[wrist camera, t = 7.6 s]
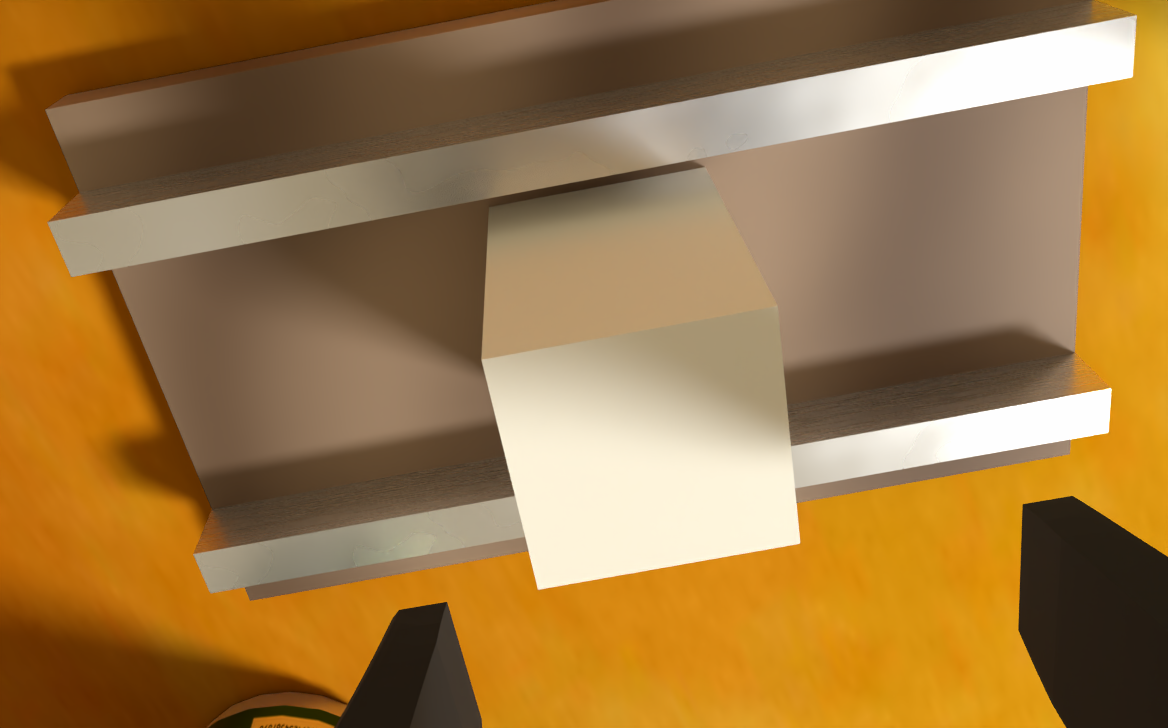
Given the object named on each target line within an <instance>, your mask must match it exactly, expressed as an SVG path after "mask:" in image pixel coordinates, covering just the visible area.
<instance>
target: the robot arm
mask: <svg viewBox="0 0 1168 728" xmlns="http://www.w3.org/2000/svg"><path fill="white" fill-rule="evenodd" d="M1019 632H1020V635H1021V637H1022V639H1023V641H1024V644H1025V646H1026V648H1027V650H1028V653H1029V655H1030V657H1031V660H1032V662H1033V664H1034V666H1035V669H1036V671H1037V673H1038V675H1039V677H1040V679H1041V681H1042V684H1043V686H1044V688H1045V690H1046V692H1047V694H1048V696H1049V698H1050V700H1051V703H1052V704H1053V706H1054V708H1055V709H1056V711H1057V713H1058V714H1059V716H1060V718H1061V719H1062V721H1063V723H1064V724H1065V726H1066V728H1168V557H1167V556H1166V555H1164V554H1162V553H1161V552H1159V551H1158V550H1156V549H1155V548H1153V547H1152V546H1150V545H1148V544H1147V543H1145V542H1144V541H1142V540H1141V539H1139V538H1138V537H1136V536H1134V535H1133V534H1131V533H1130V532H1128V531H1127V530H1125V529H1124V528H1122V527H1121V526H1119V525H1118V524H1116V523H1114V522H1113V521H1111V520H1110V519H1108V518H1107V517H1105V516H1104V515H1102V514H1101V513H1099V512H1097V511H1096V510H1094V509H1093V508H1091V507H1090V506H1088V505H1086V504H1085V503H1083V502H1082V501H1080V500H1078V499H1077V498H1075V497H1073V496H1070V497H1064V498H1058V499H1052V500H1046V501H1040V502H1034V503H1028V504H1023V512H1022V542H1021V571H1020V601H1019ZM334 728H482V719H481V716H480V712H479V709H478V706H477V702H476V699H475V695H474V692H473V689H472V685H471V682H470V679H469V675H468V672H467V668H466V665H465V662H464V658H463V655H462V652H461V648H460V645H459V641H458V638H457V635H456V631H455V628H454V624H453V621H452V618H451V614H450V611H449V608H448V604H447V602H444V603H438V604H432V605H426V606H420V607H414V608H409V609H403V610H399V611H398V612H397V614H396V615H395V616H394V617H393V619H392V621H391V623H390V625H389V627H388V629H387V631H386V633H385V635H384V637H383V639H382V641H381V643H380V645H379V647H378V649H377V651H376V653H375V655H374V657H373V659H372V660H371V662H370V664H369V666H368V668H367V670H366V672H365V674H364V676H363V678H362V679H361V681H360V683H359V685H358V687H357V689H356V691H355V692H354V694H353V696H352V698H351V700H350V701H349V703H348V705H347V707H346V708H345V710H344V712H343V713H342V715H341V717H340V719H339V720H338V722H337V724H336V726H335V727H334Z"/></svg>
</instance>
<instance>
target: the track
mask: <svg viewBox="0 0 1168 728" xmlns="http://www.w3.org/2000/svg"><path fill="white" fill-rule="evenodd" d="M1136 18H1137V15H1135V14H1132V13H1129V12H1126V11H1123V10H1121V9H1118V8H1115V7H1112V6H1109V5H1107V4H1104V3H1101V2H1098V1H1095V0H556V1H551V2H546V3H540V4H535V5H530V6H525V7H520V8H515V9H509V10H504V11H499V12H494V13H489V14H484V15H478V16H473V17H468V18H463V19H458V20H453V21H447V22H442V23H437V24H432V25H427V26H422V27H416V28H411V29H406V30H401V31H396V32H391V33H385V34H380V35H375V36H370V37H365V38H360V39H354V40H349V41H344V42H339V43H334V44H328V45H323V46H318V47H313V48H308V49H303V50H297V51H292V52H287V53H282V54H277V55H272V56H266V57H261V58H256V59H251V60H246V61H241V62H235V63H230V64H225V65H220V66H215V67H210V68H204V69H199V70H194V71H189V72H184V73H179V74H173V75H168V76H163V77H158V78H153V79H147V80H142V81H137V82H132V83H127V84H122V85H116V86H111V87H106V88H101V89H96V90H91V91H85V92H80V93H75V94H70V95H66V96H64V97H63V98H61V99H60V100H59V101H57V102H56V103H54V104H53V105H51V106H50V107H48V108H47V109H45V111H46V113H47V116H48V118H49V121H50V123H51V125H52V128H53V130H54V133H55V135H56V137H57V140H58V142H59V144H60V147H61V149H62V152H63V154H64V156H65V159H66V161H67V164H68V166H69V168H70V171H71V173H72V176H73V178H74V180H75V183H76V185H77V188H78V190H79V193H78V194H77V195H76V196H75V197H74V198H73V199H72V200H71V201H70V202H69V203H68V204H67V205H65V206H64V207H63V208H62V209H61V210H60V211H59V212H58V213H57V214H56V215H55V216H54V217H53V218H51V219H50V220H49V221H48V225H49V227H50V229H51V231H52V234H53V236H54V238H55V241H56V243H57V245H58V247H59V250H60V252H61V254H62V256H63V259H64V261H65V263H66V266H67V268H68V270H69V272H70V275H71V277H74V276H80V275H85V274H90V273H95V272H101V271H106V270H111V269H112V271H113V274H114V276H115V278H116V281H117V283H118V286H119V288H120V290H121V293H122V295H123V298H124V300H125V302H126V305H127V307H128V309H129V312H130V314H131V317H132V319H133V321H134V324H135V326H136V329H137V331H138V333H139V336H140V338H141V341H142V343H143V345H144V348H145V350H146V353H147V355H148V357H149V360H150V362H151V364H152V367H153V369H154V372H155V374H156V376H157V379H158V381H159V384H160V386H161V388H162V391H163V393H164V396H165V398H166V400H167V403H168V405H169V408H170V410H171V412H172V415H173V417H174V419H175V422H176V424H177V427H178V429H179V431H180V434H181V436H182V439H183V441H184V443H185V446H186V448H187V451H188V453H189V455H190V458H191V460H192V462H193V465H194V467H195V470H196V472H197V474H198V477H199V479H200V482H201V484H202V486H203V489H204V491H205V494H206V496H207V498H208V501H209V503H210V506H211V508H212V510H211V513H210V515H209V518H208V520H207V522H206V525H205V527H204V530H203V532H202V534H201V537H200V539H199V542H198V544H197V546H196V549H195V551H194V554H193V555H194V557H195V559H196V561H197V564H198V566H199V568H200V571H201V573H202V575H203V577H204V580H205V582H206V584H207V587H208V589H209V591H210V593H215V592H220V591H226V590H231V589H237V588H243V587H245V589H246V592H247V594H248V596H249V599H250V601H251V600H257V599H263V598H268V597H274V596H279V595H285V594H291V593H296V592H302V591H307V590H313V589H318V588H324V587H330V586H335V585H341V584H346V583H352V582H358V581H363V580H369V579H374V578H380V577H386V576H391V575H397V574H402V573H408V572H414V571H419V570H425V569H430V568H436V567H441V566H447V565H453V564H458V563H464V562H469V561H475V560H481V559H486V558H492V557H497V556H503V555H509V554H514V553H520V552H525V551H529V550H528V546H527V542H526V538H525V534H524V530H523V526H522V522H521V518H520V514H519V510H518V506H517V502H516V498H515V494H514V490H513V486H512V482H511V478H510V473H509V469H508V465H507V461H506V457H505V453H504V449H503V445H502V441H501V437H500V433H499V429H498V425H497V421H496V417H495V413H494V409H493V405H492V401H491V397H490V393H489V389H488V385H487V380H486V376H485V372H484V368H483V364H482V360H481V358H482V338H483V318H484V298H485V278H486V258H487V238H488V218H489V207H492V206H498V205H503V204H509V203H514V202H519V201H525V200H530V199H536V198H541V197H546V196H552V195H557V194H563V193H568V192H573V191H579V190H584V189H589V188H595V187H600V186H606V185H611V184H616V183H622V182H627V181H633V180H638V179H643V178H649V177H654V176H660V175H665V174H670V173H676V172H681V171H686V170H692V169H697V168H703V167H705V168H706V170H707V172H708V173H709V175H710V177H711V179H712V181H713V183H714V185H715V187H716V189H717V191H718V193H719V195H720V196H721V198H722V200H723V202H724V204H725V206H726V208H727V210H728V212H729V214H730V216H731V218H732V219H733V221H734V223H735V225H736V227H737V229H738V231H739V233H740V235H741V237H742V239H743V241H744V242H745V244H746V246H747V248H748V250H749V252H750V254H751V256H752V258H753V260H754V262H755V264H756V266H757V267H758V269H759V271H760V273H761V275H762V277H763V279H764V281H765V283H766V285H767V287H768V289H769V290H770V292H771V294H772V296H773V298H774V300H775V302H776V304H777V306H778V315H779V326H780V336H781V347H782V357H783V368H784V378H785V389H786V399H787V410H788V420H789V431H790V441H791V452H792V462H793V473H794V483H795V494H796V503H799V502H805V501H810V500H816V499H822V498H827V497H833V496H838V495H844V494H850V493H855V492H861V491H866V490H872V489H878V488H883V487H889V486H894V485H900V484H905V483H911V482H917V481H922V480H928V479H933V478H939V477H945V476H950V475H956V474H961V473H967V472H973V471H978V470H984V469H989V468H995V467H1000V466H1006V465H1012V464H1017V463H1023V462H1028V461H1034V460H1040V459H1045V458H1051V457H1056V456H1062V455H1068V454H1070V439H1074V438H1079V437H1085V436H1090V435H1096V434H1102V433H1107V432H1108V426H1109V412H1110V397H1111V388H1110V387H1109V386H1108V385H1107V384H1106V383H1105V382H1104V381H1103V380H1102V379H1101V378H1100V377H1099V376H1098V375H1097V374H1096V373H1095V372H1094V371H1093V370H1092V369H1091V368H1090V367H1089V366H1088V365H1087V364H1086V363H1085V362H1084V361H1083V360H1082V359H1081V358H1080V357H1079V356H1078V355H1077V354H1076V353H1075V336H1076V316H1077V295H1078V275H1079V255H1080V234H1081V214H1082V193H1083V173H1084V153H1085V132H1086V112H1087V91H1088V85H1093V84H1098V83H1104V82H1109V81H1114V80H1119V79H1125V78H1130V77H1132V76H1133V62H1134V47H1135V32H1136Z"/></svg>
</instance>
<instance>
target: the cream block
mask: <svg viewBox="0 0 1168 728" xmlns="http://www.w3.org/2000/svg"><path fill="white" fill-rule="evenodd" d="M481 360H482V364H483V368H484V372H485V376H486V380H487V385H488V389H489V393H490V397H491V401H492V405H493V409H494V413H495V417H496V421H497V425H498V429H499V433H500V437H501V441H502V445H503V449H504V453H505V457H506V461H507V465H508V469H509V473H510V478H511V482H512V486H513V490H514V494H515V498H516V502H517V506H518V510H519V514H520V518H521V522H522V526H523V530H524V534H525V538H526V542H527V546H528V550H529V554H530V558H531V562H532V566H533V570H534V575H535V579H536V583H537V587H538V590H539V589H544V588H550V587H556V586H561V585H567V584H573V583H579V582H584V581H590V580H596V579H601V578H607V577H613V576H618V575H624V574H630V573H635V572H641V571H647V570H653V569H658V568H664V567H670V566H675V565H681V564H687V563H692V562H698V561H704V560H710V559H715V558H721V557H727V556H732V555H738V554H744V553H749V552H755V551H761V550H766V549H772V548H778V547H784V546H789V545H795V544H800V536H799V525H798V515H797V504H796V494H795V483H794V473H793V462H792V452H791V441H790V431H789V420H788V410H787V399H786V389H785V378H784V368H783V357H782V347H781V336H780V326H779V315H778V306H777V304H776V302H775V300H774V298H773V296H772V294H771V292H770V290H769V289H768V287H767V285H766V283H765V281H764V279H763V277H762V275H761V273H760V271H759V269H758V267H757V266H756V264H755V262H754V260H753V258H752V256H751V254H750V252H749V250H748V248H747V246H746V244H745V242H744V241H743V239H742V237H741V235H740V233H739V231H738V229H737V227H736V225H735V223H734V221H733V219H732V218H731V216H730V214H729V212H728V210H727V208H726V206H725V204H724V202H723V200H722V198H721V196H720V195H719V193H718V191H717V189H716V187H715V185H714V183H713V181H712V179H711V177H710V175H709V173H708V172H707V170H706V168H705V167H703V168H697V169H692V170H686V171H681V172H676V173H670V174H665V175H660V176H654V177H649V178H643V179H638V180H633V181H627V182H622V183H616V184H611V185H606V186H600V187H595V188H589V189H584V190H579V191H573V192H568V193H563V194H557V195H552V196H546V197H541V198H536V199H530V200H525V201H519V202H514V203H509V204H503V205H498V206H492V207H489V218H488V238H487V258H486V278H485V298H484V318H483V338H482V358H481Z"/></svg>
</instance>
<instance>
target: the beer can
mask: <svg viewBox="0 0 1168 728" xmlns="http://www.w3.org/2000/svg"><path fill="white" fill-rule="evenodd" d="M346 707H347V705H346V704H343V703H341V702H338V701H335V700H333V699H330V698H327V697H325V696H322V695H314V694H306V693H298V692H282V693H273V694H263V695H259V696H256V697H253V698H251V699H248V700H245V701H242V702H240V703H237V704H234V705H233V706H231V707H230V708H229V709H227V710H226V711H225V712H224V713H222V714H221V715H220V716H218V717H217V718H216V719H214V720H213V721H212V722H211V723H210V724H209V725H208V726H207V727H206V728H334V727H335V726H336V724H337V722H338V720H339V719H340V717H341V715H342V713H343V712H344V710H345V708H346Z"/></svg>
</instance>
